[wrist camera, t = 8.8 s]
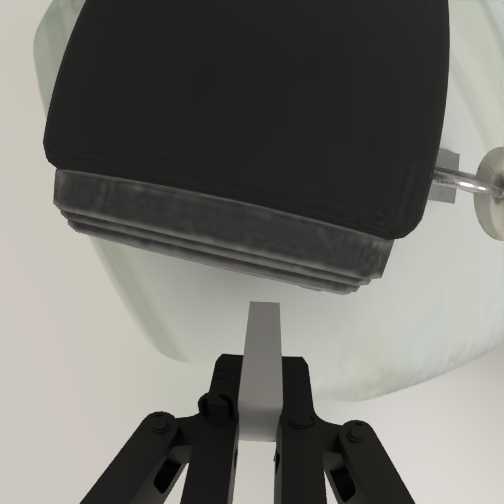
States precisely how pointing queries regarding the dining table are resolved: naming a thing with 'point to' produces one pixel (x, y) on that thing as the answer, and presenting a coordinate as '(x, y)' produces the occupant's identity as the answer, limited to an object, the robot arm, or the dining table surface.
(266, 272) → the camera
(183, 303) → the dining table surface
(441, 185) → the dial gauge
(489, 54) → the dining table surface
